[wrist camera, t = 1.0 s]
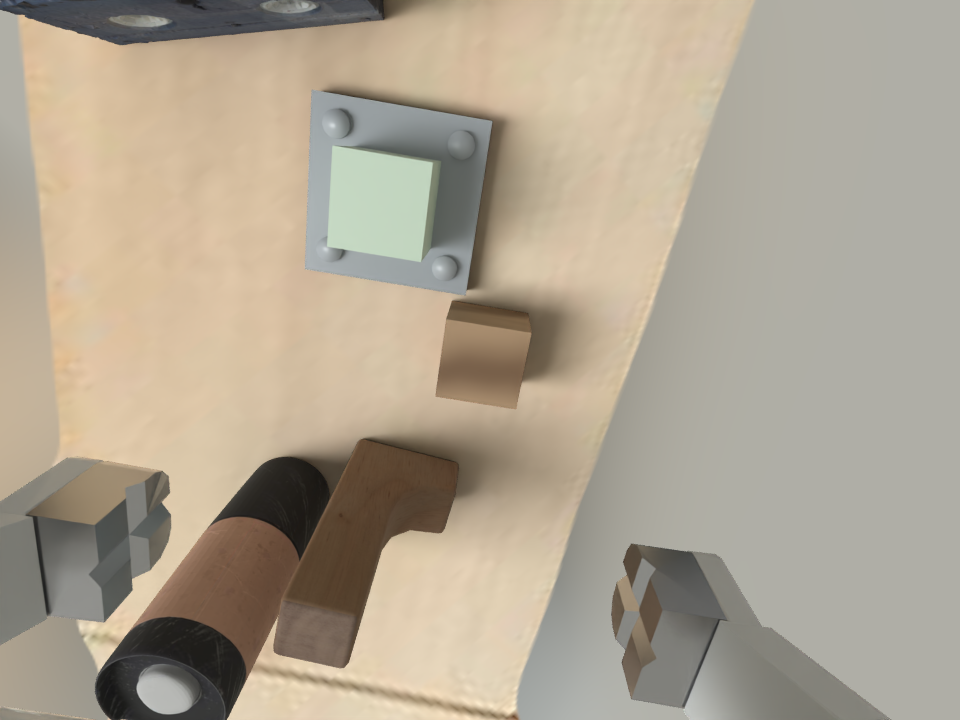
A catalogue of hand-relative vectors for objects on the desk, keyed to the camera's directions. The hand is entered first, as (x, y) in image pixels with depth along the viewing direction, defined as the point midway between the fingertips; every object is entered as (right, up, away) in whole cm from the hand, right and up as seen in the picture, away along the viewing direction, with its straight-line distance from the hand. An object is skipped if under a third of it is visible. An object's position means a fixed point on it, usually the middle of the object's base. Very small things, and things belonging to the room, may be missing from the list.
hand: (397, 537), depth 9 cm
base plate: (-5, +15, +29) cm, 33 cm away
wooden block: (-5, -7, +38) cm, 39 cm away
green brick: (-5, +14, +28) cm, 32 cm away
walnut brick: (+2, +5, +33) cm, 34 cm away
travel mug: (-16, -9, +39) cm, 43 cm away
